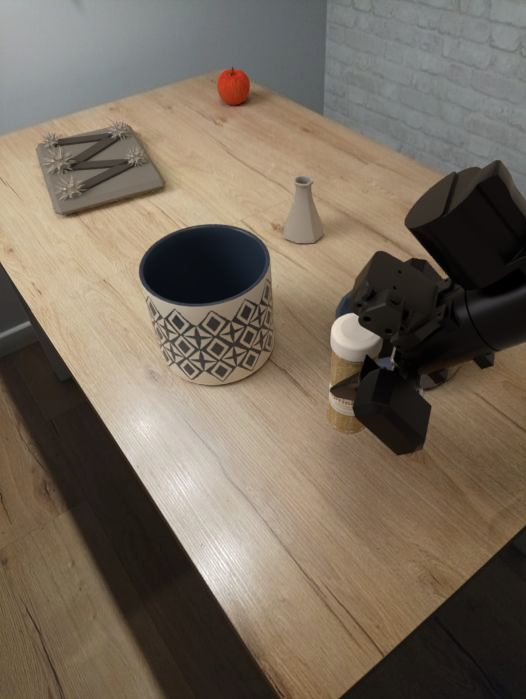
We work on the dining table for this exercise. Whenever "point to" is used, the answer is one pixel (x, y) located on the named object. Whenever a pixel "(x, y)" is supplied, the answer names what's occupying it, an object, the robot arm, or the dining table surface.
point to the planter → (210, 302)
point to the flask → (303, 214)
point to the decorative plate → (96, 168)
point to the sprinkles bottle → (348, 367)
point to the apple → (233, 86)
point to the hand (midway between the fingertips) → (339, 375)
